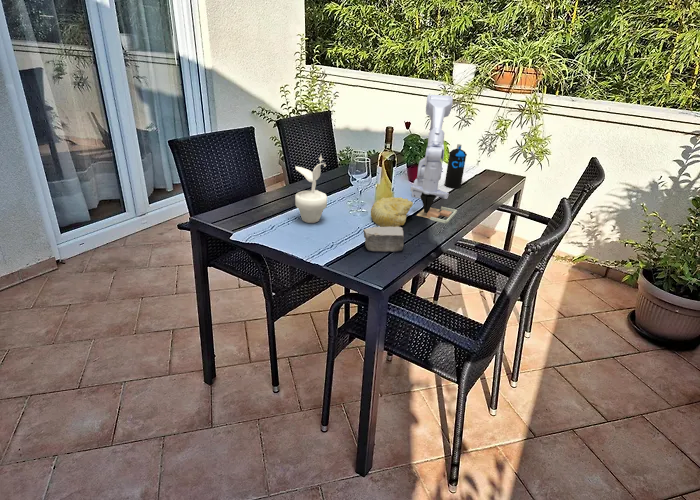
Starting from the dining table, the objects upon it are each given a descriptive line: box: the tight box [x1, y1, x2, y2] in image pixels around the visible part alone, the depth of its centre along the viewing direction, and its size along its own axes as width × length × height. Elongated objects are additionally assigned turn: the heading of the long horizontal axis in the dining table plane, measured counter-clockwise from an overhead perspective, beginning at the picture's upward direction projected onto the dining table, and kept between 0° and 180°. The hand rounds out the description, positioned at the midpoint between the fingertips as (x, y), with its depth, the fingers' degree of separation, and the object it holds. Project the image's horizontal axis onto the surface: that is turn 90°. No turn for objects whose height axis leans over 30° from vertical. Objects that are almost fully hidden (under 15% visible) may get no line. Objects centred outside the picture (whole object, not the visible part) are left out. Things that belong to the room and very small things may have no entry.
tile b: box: [426, 207, 441, 218], centre depth 175 cm, size 4×4×2 cm
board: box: [416, 206, 441, 220], centre depth 180 cm, size 6×12×2 cm, turn 152°
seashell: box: [370, 196, 414, 227], centre depth 169 cm, size 17×11×15 cm
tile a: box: [439, 209, 453, 218], centre depth 179 cm, size 4×4×2 cm
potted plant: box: [294, 155, 328, 224], centre depth 164 cm, size 13×12×25 cm
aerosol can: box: [443, 143, 467, 190], centre depth 213 cm, size 8×8×20 cm
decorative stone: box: [362, 226, 405, 253], centre depth 150 cm, size 15×7×10 cm
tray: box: [429, 206, 458, 225], centre depth 177 cm, size 6×14×2 cm, turn 152°
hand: (426, 212), depth 176 cm, fingers closed
